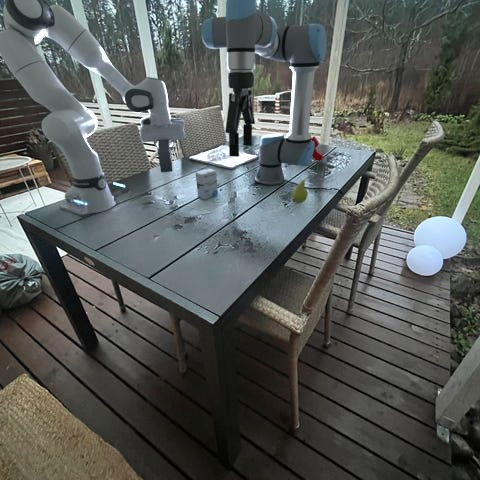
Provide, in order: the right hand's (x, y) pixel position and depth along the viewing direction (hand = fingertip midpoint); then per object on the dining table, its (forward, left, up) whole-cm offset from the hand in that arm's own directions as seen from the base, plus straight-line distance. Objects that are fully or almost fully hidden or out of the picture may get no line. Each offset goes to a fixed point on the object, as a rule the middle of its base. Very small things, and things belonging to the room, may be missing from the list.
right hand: (241, 150), depth 86 cm
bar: (+43, -23, -14) cm, 51 cm away
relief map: (+40, -84, -29) cm, 97 cm away
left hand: (+48, -31, -11) cm, 59 cm away
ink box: (+25, -25, -29) cm, 46 cm away
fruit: (-17, -31, -29) cm, 46 cm away
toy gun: (-12, -95, -29) cm, 100 cm away
